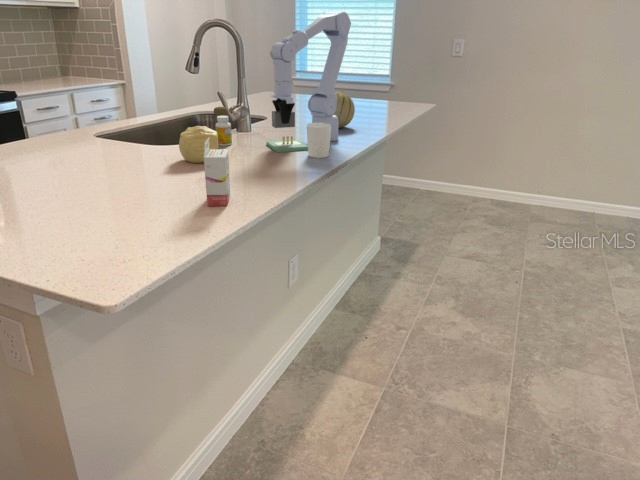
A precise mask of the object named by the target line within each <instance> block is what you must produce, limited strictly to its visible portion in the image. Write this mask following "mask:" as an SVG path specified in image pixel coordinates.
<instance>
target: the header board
mask: <svg viewBox="0 0 640 480" xmlns="http://www.w3.org/2000/svg"><path fill="white" fill-rule="evenodd" d="M266 146H267V147H269V148H270V149H272V151H274V152H276V153H283V152H284V153H285V152H286V153H287V152H299V151H308V143H305V142H304V141H302V140H300V139H297V138H296V139H294V136H293V135H291V136H286V137H285V136H282V139H281V140H266Z"/></svg>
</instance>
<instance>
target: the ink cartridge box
mask: <svg viewBox="0 0 640 480" xmlns="http://www.w3.org/2000/svg"><path fill="white" fill-rule="evenodd" d="M206 146H207V148H206ZM229 158H230V157H229V149H228V148H225V149H224V148H223V149H222V148H221V149H220V148H218V149H210V150H209V137H208V139H207V140H206V142H205V143H204V163H203V165H204V177H205V178H204V179H205V190H206V192H205V193H206V201H207V202H206V203H207V207H228V205H229V200H230V197H231V187H230V186H231V185H230V184H231V183H230V163H229ZM209 205H210V206H209Z"/></svg>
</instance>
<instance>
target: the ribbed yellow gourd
mask: <svg viewBox="0 0 640 480" xmlns="http://www.w3.org/2000/svg"><path fill="white" fill-rule="evenodd" d="M334 92H335V94H336V95H337V97H338V98H337V107H336V111H335V113H334V114H333V115H336V116H337V118H338V123H339V125H338V129H341V127H342V128H345V127H346V126H348V125H349V124H350V123H351V122H352V121H353V118H354V115H355V113H356V109H355V108H356V107H355V103H354V100H353V99H352V97H350V96H349V95H348V94H346V93H344V90H342V89H340V91H334Z"/></svg>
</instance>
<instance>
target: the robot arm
mask: <svg viewBox="0 0 640 480" xmlns="http://www.w3.org/2000/svg"><path fill="white" fill-rule="evenodd" d="M351 25H352V22H351V19H350V16H349V14H348V13H347V12H346V11H340V12H339V11H337V12H335V11H332V12H331V11H329V12H328V11H324V12H322V13H321V14H319V15H317V18H316V19H315V20H313V22H311V23H310V24H309V25H308V26H306V27H304V29H303V30H302V29H293V30H292V33H291V34H289V36H287V37H283V38H282V40H281V42H279V41H278V42H275V43H274V44H273V45H272V47H271V49H270V51H269V55H270V58H271V60H272V64H273V67H274V68H273V70H274V71H273V75H274V76H273V77H274V82H273V83H274V93H273V94H270V95H271V96H270V97H271V98H274V99H273V100H271V102H272V104H273V107H274V109H275V111H280V112H281V119H282V123H283V124H288V123H289V120H290V115H291V112H292V111H293V109H294V107H295V104H296V103H295V102H294V97H293V94H292V89H293V88H292V61H294V60H295V57H296V55H297V53H299V52H300V51H301V50H303V49H304V48H305V47H307V46H308V45H309V40H310V39H312V38H313V37H315V36H316V35H318V34H320V33H322V32H323V34H325V36H326V37H327V39H328V40H330V47H329V50H328V52H327V53H328V54H327V58H326V62H325V65H324V67H323V71H322V76H321V79H320V82H319V86H318V87H316V89H315V88H314V90H312V91H313V92H312V94H311V96H310V97H309V98H308V101H307V108H308V111H309V112H310V115H311V123H327V124H330V125H331V137H330V142H332V141H333V142H335V141H336V142H337V141H339V140H340V139H339V128H338V125H339V123H338V118H337V116H336V115H333V114H334V113H335V111H336V107H337V98H338V97H337V95H336V94H335V92H336V91H335V87H336V84H337V81H338V76H339V73H340V70H341V66H342V63H343V60H344V56H345V54H346V53H345V52H346V49H347V46H348V41H349V40H348V39H349V37H348V36H349V32H350V31H351V30H350V29H351Z"/></svg>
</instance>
